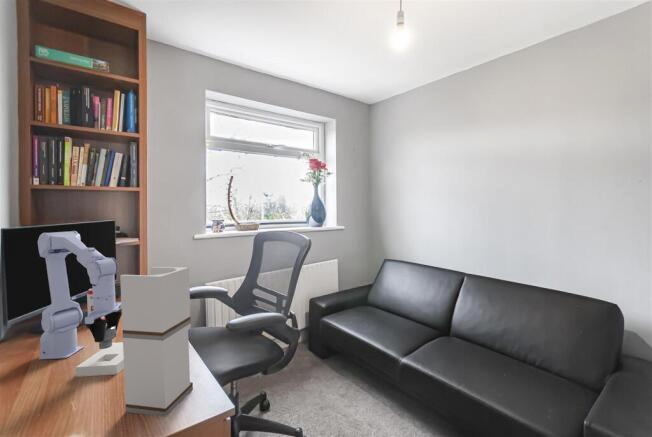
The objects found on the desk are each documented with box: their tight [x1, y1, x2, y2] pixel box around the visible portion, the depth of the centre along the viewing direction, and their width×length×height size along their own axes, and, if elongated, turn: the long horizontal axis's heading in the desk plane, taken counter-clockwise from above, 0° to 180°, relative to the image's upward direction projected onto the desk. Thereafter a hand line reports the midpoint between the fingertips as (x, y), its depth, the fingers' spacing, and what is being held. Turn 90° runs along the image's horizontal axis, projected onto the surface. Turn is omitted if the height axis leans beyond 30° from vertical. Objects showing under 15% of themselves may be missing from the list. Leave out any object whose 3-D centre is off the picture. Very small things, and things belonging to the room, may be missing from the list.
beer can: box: [86, 287, 106, 320], centre depth 130 cm, size 6×6×16 cm
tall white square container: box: [119, 266, 194, 418], centre depth 76 cm, size 11×11×35 cm
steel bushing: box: [94, 324, 117, 350], centre depth 93 cm, size 6×6×6 cm
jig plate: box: [75, 341, 124, 378], centre depth 96 cm, size 12×16×3 cm
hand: (106, 336), depth 93 cm, fingers closed on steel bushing, 6 cm apart
